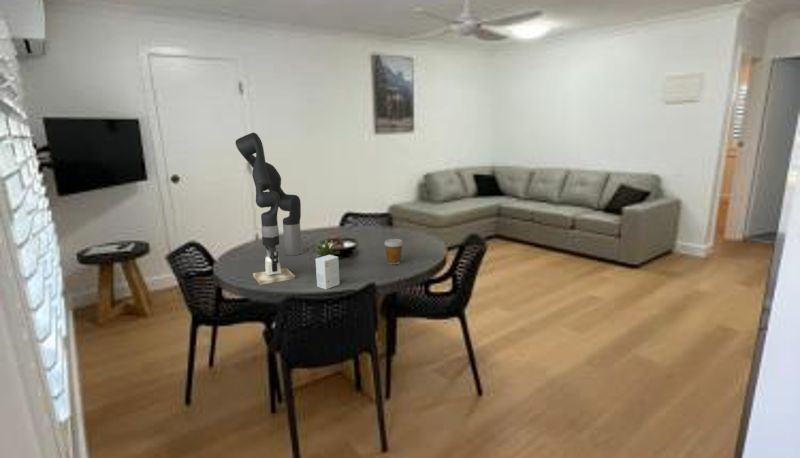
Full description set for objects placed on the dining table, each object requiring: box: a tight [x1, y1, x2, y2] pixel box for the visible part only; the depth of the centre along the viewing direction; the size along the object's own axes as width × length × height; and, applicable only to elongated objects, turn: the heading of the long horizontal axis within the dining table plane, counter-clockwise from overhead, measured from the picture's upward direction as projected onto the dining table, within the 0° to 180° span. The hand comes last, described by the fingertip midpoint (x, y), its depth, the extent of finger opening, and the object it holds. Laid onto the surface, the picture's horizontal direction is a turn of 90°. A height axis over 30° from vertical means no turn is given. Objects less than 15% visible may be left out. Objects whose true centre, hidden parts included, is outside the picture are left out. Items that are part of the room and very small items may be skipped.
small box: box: [315, 254, 340, 290], centre depth 196 cm, size 8×6×13 cm
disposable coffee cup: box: [383, 238, 404, 263], centre depth 228 cm, size 10×10×12 cm
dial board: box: [252, 267, 296, 286], centre depth 209 cm, size 16×14×8 cm
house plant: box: [315, 238, 341, 258], centre depth 214 cm, size 14×14×16 cm
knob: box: [264, 255, 281, 275], centre depth 208 cm, size 6×6×8 cm
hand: (273, 269), depth 209 cm, fingers closed on knob, 6 cm apart
